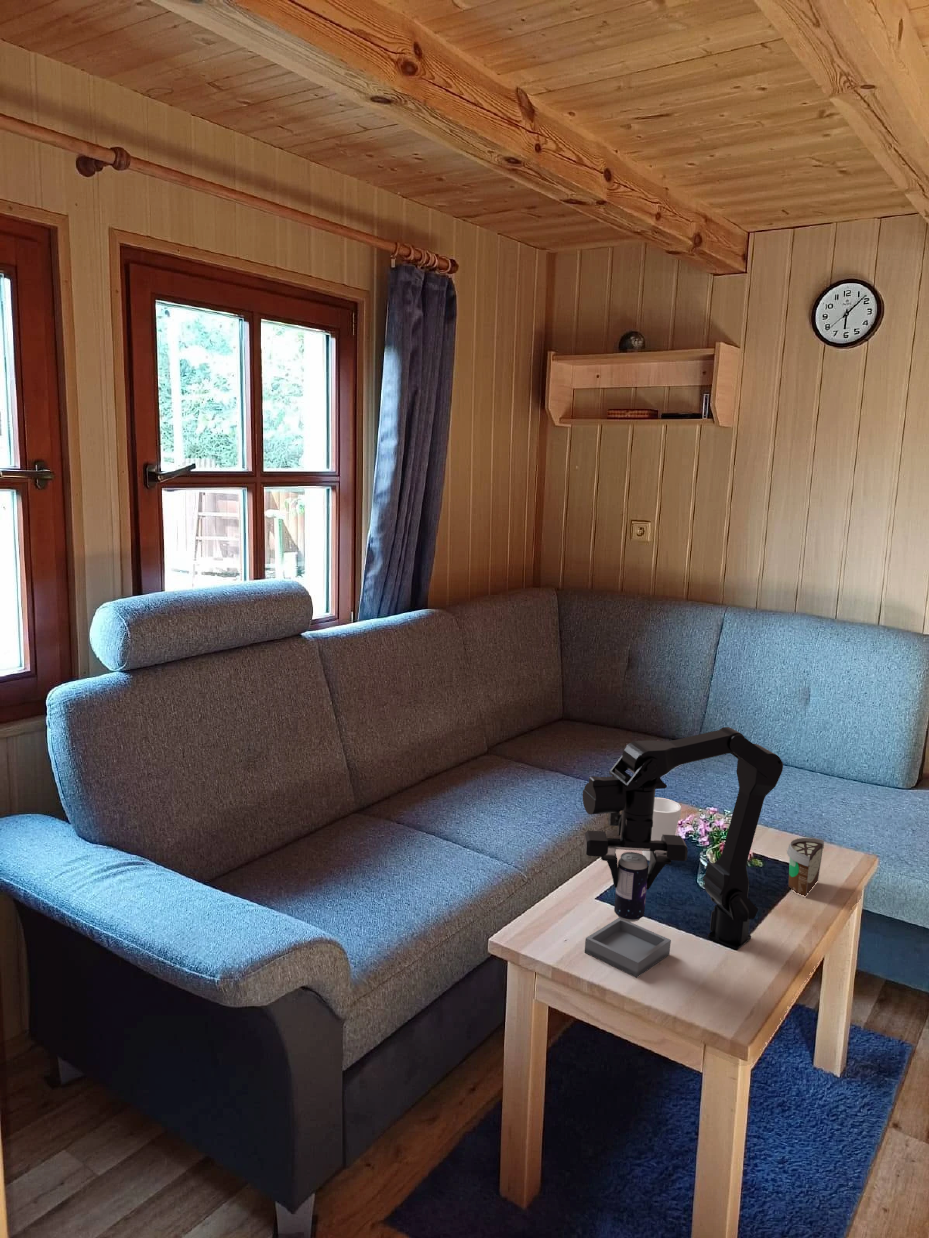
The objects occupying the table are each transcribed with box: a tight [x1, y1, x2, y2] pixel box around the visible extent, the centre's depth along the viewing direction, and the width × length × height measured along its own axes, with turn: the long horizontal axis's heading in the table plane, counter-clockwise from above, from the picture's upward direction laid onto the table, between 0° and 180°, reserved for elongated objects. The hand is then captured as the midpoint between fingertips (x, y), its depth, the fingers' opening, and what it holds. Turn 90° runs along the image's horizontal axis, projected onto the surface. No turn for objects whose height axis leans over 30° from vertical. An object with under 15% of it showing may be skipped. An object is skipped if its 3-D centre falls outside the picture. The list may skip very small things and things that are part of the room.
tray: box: [584, 917, 672, 979], centre depth 176 cm, size 12×12×3 cm
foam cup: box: [641, 796, 682, 862], centre depth 218 cm, size 10×9×13 cm
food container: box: [786, 837, 825, 896], centre depth 207 cm, size 12×6×10 cm, turn 144°
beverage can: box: [613, 851, 649, 923], centre depth 175 cm, size 6×6×12 cm
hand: (631, 887), depth 175 cm, fingers closed on beverage can, 6 cm apart
